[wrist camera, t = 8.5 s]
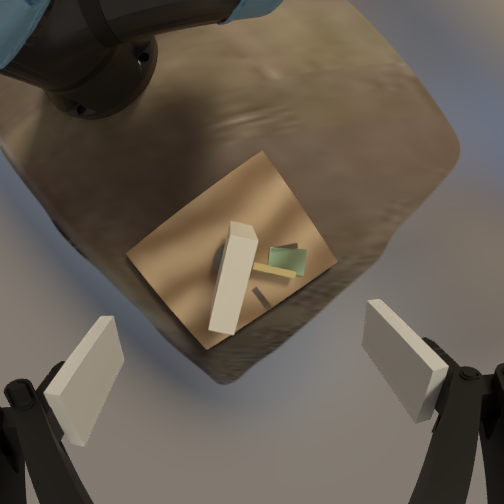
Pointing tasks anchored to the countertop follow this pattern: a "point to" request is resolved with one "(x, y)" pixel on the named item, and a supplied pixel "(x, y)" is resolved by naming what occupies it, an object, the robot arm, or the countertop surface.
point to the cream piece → (235, 276)
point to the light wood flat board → (214, 234)
